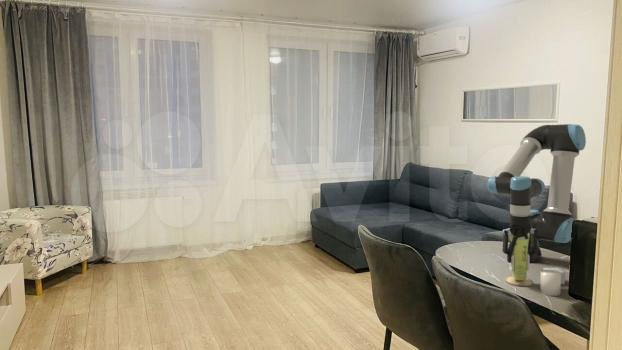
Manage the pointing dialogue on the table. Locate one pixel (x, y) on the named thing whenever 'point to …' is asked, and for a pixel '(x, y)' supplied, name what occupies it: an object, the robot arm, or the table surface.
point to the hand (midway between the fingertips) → (519, 269)
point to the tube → (520, 257)
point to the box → (558, 271)
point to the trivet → (518, 282)
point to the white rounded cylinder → (550, 282)
